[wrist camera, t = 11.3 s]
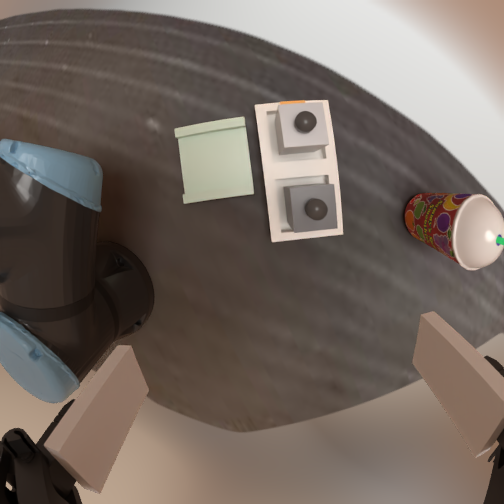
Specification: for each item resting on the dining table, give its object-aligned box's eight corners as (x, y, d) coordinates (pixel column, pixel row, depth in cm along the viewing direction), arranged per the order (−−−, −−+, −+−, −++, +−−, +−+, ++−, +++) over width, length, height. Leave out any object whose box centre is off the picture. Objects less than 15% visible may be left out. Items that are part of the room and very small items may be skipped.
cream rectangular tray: (271, 237, 37) (274, 258, 27) (255, 110, 33) (252, 84, 23) (336, 230, 36) (363, 248, 26) (322, 106, 32) (344, 80, 22)
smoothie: (392, 192, 35) (491, 209, 15) (435, 183, 34) (535, 195, 14) (400, 248, 37) (489, 302, 17) (441, 236, 36) (533, 275, 16)
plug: (279, 155, 33) (285, 145, 24) (274, 121, 32) (279, 100, 23) (314, 152, 33) (332, 142, 24) (309, 118, 32) (325, 98, 23)
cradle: (187, 202, 36) (183, 203, 34) (178, 130, 34) (174, 128, 32) (254, 193, 35) (253, 194, 34) (244, 119, 33) (244, 116, 31)
